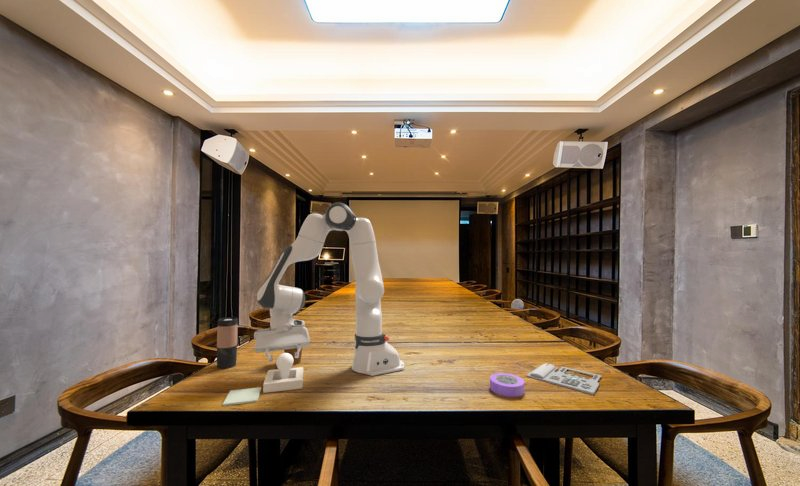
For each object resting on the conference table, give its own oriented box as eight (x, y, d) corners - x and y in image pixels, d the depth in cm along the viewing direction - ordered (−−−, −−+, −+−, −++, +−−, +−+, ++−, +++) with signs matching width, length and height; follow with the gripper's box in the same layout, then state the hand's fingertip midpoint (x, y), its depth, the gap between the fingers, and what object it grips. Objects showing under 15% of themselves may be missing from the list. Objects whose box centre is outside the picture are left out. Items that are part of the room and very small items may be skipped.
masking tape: (521, 400, 103) (521, 389, 103) (486, 392, 109) (486, 381, 109) (526, 387, 113) (526, 376, 113) (493, 380, 119) (493, 370, 119)
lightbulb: (287, 387, 111) (287, 356, 112) (272, 385, 113) (272, 355, 113) (296, 380, 117) (296, 351, 118) (281, 379, 119) (282, 350, 119)
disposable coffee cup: (308, 361, 138) (309, 334, 138) (291, 367, 130) (291, 339, 130) (294, 357, 143) (295, 331, 144) (276, 363, 135) (277, 335, 135)
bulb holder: (303, 374, 123) (303, 366, 123) (302, 388, 111) (302, 379, 111) (267, 378, 119) (268, 370, 119) (263, 392, 107) (263, 384, 107)
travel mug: (240, 364, 134) (241, 317, 134) (224, 370, 127) (225, 321, 127) (228, 361, 137) (230, 316, 138) (212, 367, 130) (213, 319, 131)
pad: (261, 388, 110) (261, 387, 110) (257, 401, 100) (257, 400, 100) (230, 392, 107) (230, 390, 107) (222, 406, 98) (222, 404, 98)
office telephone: (525, 371, 123) (543, 359, 137) (525, 378, 123) (543, 365, 137) (593, 388, 107) (604, 372, 121) (593, 396, 107) (605, 379, 121)
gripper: (254, 325, 120) (254, 358, 111) (308, 320, 129) (312, 351, 120) (253, 334, 124) (253, 367, 114) (306, 329, 133) (309, 359, 123)
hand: (284, 359), depth 117 cm, fingers open, 8 cm apart
